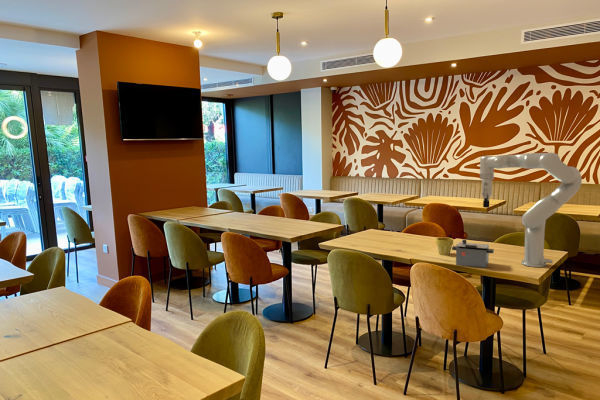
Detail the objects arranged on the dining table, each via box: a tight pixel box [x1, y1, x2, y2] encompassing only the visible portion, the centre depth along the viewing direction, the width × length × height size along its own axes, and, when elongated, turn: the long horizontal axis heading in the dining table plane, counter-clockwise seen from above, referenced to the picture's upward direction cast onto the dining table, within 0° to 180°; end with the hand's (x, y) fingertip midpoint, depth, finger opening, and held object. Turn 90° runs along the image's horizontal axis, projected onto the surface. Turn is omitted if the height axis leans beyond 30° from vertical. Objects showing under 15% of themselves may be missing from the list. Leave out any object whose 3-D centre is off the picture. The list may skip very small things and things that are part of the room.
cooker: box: [451, 245, 494, 269], centre depth 250 cm, size 22×12×10 cm, turn 61°
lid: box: [455, 239, 490, 249], centre depth 249 cm, size 16×14×3 cm
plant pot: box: [435, 236, 454, 256], centre depth 275 cm, size 10×10×10 cm
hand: (486, 207), depth 260 cm, fingers closed
